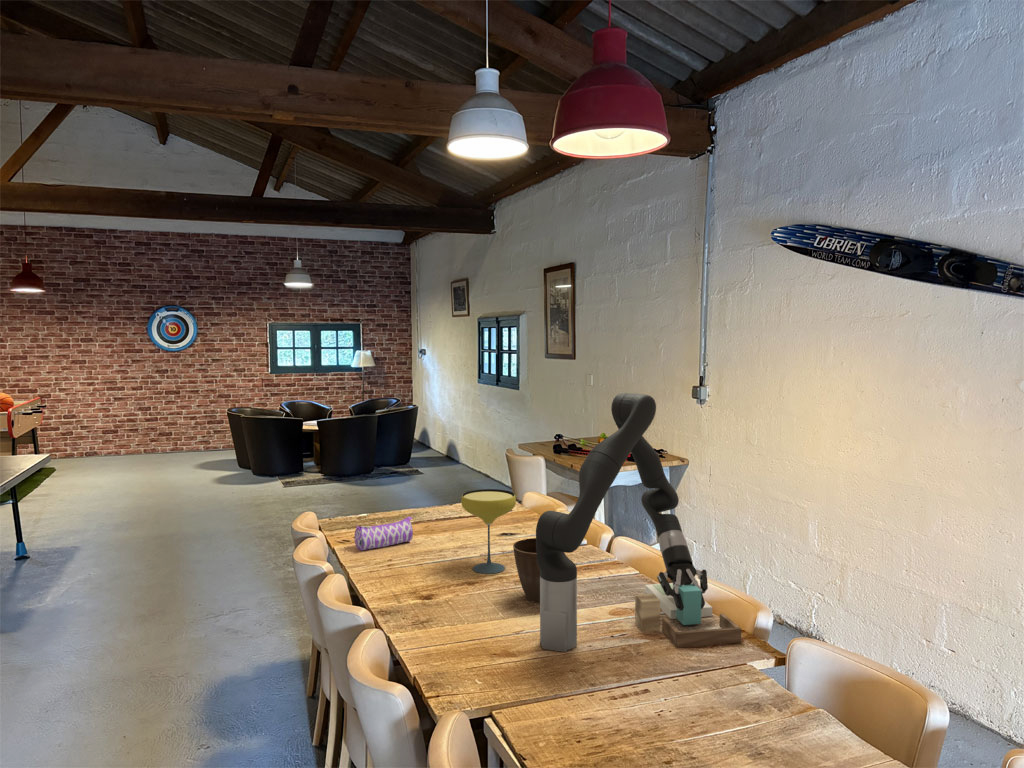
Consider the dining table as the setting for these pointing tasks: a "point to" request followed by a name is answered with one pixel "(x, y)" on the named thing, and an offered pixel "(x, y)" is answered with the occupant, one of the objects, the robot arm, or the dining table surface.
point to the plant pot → (528, 568)
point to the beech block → (647, 612)
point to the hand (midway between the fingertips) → (691, 608)
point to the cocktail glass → (488, 516)
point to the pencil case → (383, 534)
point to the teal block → (690, 605)
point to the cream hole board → (671, 601)
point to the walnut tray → (703, 634)
